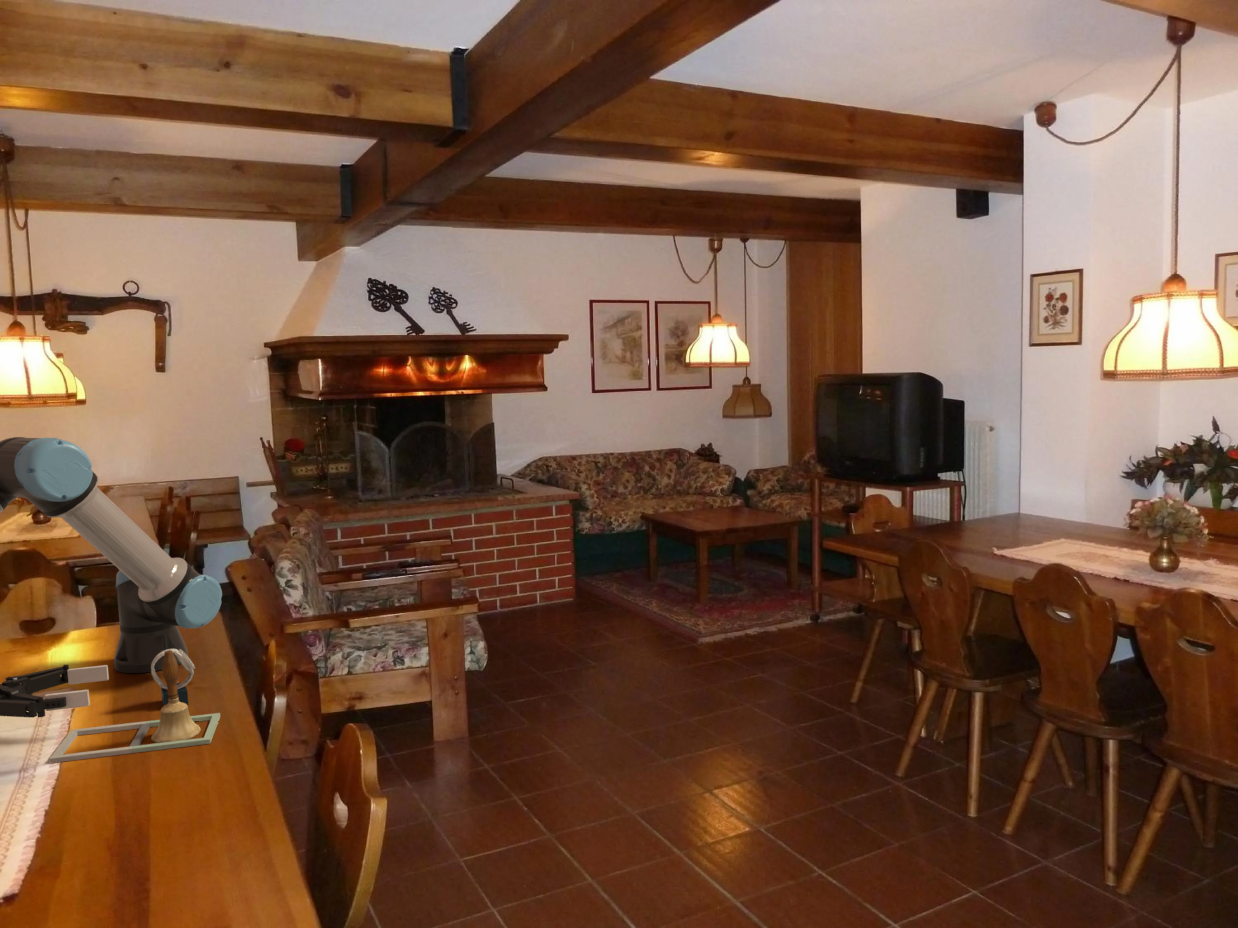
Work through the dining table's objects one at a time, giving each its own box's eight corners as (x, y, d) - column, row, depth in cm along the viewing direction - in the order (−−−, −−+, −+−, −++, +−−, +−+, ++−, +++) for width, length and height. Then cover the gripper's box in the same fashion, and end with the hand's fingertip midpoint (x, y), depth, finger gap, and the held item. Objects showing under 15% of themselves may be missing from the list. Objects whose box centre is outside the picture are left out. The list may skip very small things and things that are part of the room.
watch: (198, 702, 188) (195, 649, 187) (154, 711, 184) (150, 657, 182) (195, 694, 193) (191, 643, 191) (152, 702, 188) (148, 649, 187)
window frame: (72, 733, 173) (71, 729, 173) (220, 716, 180) (220, 712, 180) (49, 763, 160) (49, 758, 160) (210, 743, 167) (210, 739, 167)
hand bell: (181, 745, 167) (175, 658, 165) (140, 742, 168) (134, 656, 167) (210, 727, 175) (204, 644, 173) (171, 724, 177) (164, 643, 175)
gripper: (-10, 695, 174) (116, 681, 180) (-66, 749, 150) (81, 730, 156) (-14, 656, 173) (113, 644, 179) (-71, 704, 149) (77, 687, 155)
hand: (98, 684), depth 168 cm, fingers open, 13 cm apart
